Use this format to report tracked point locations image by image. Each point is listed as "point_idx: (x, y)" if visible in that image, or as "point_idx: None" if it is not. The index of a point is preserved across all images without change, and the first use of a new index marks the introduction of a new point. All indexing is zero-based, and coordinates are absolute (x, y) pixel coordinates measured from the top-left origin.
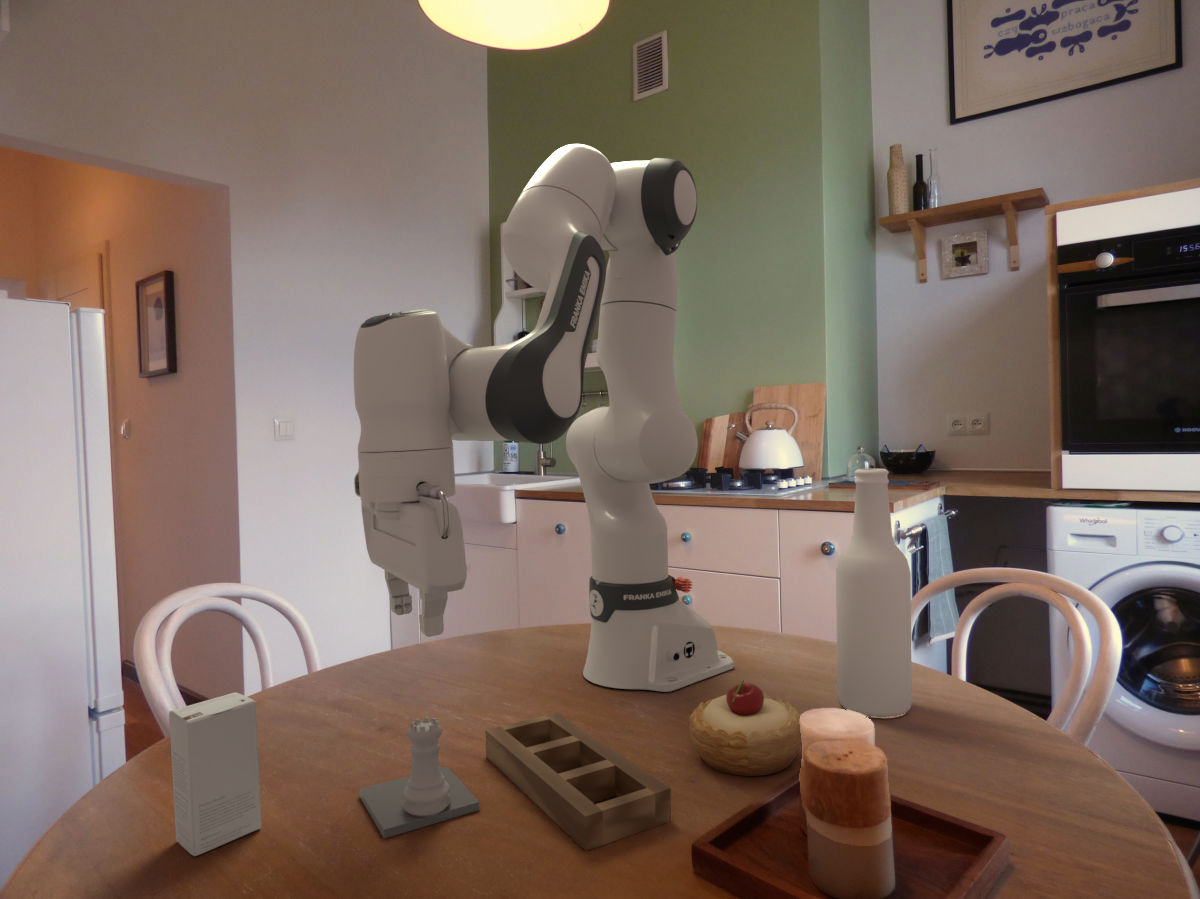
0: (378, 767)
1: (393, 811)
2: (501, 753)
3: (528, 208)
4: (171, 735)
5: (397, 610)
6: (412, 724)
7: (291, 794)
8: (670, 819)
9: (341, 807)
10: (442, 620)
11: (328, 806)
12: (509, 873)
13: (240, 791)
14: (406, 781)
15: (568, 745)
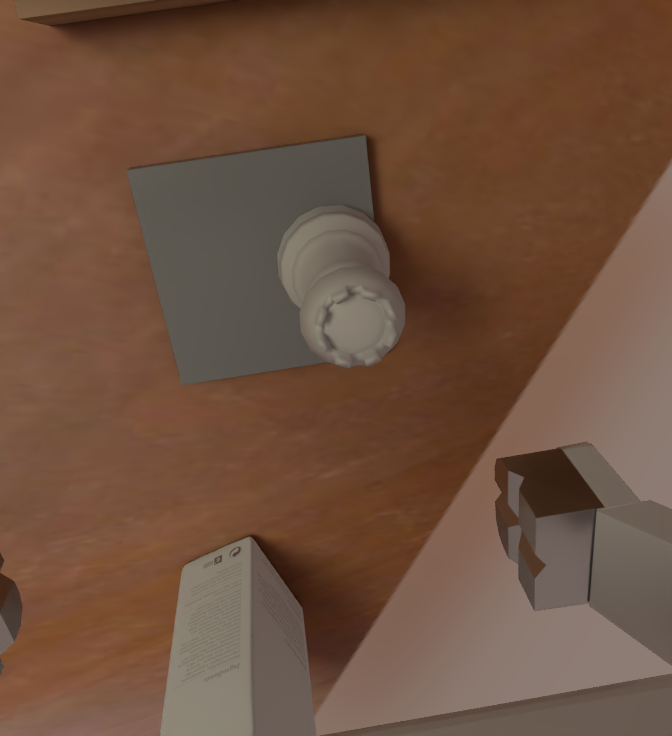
0: (32, 327)
1: None
2: (165, 3)
3: None
4: None
5: (9, 623)
6: (349, 362)
7: (119, 495)
8: None
9: (217, 411)
10: (620, 482)
11: (202, 433)
12: (630, 140)
13: (271, 621)
14: (183, 284)
15: None
